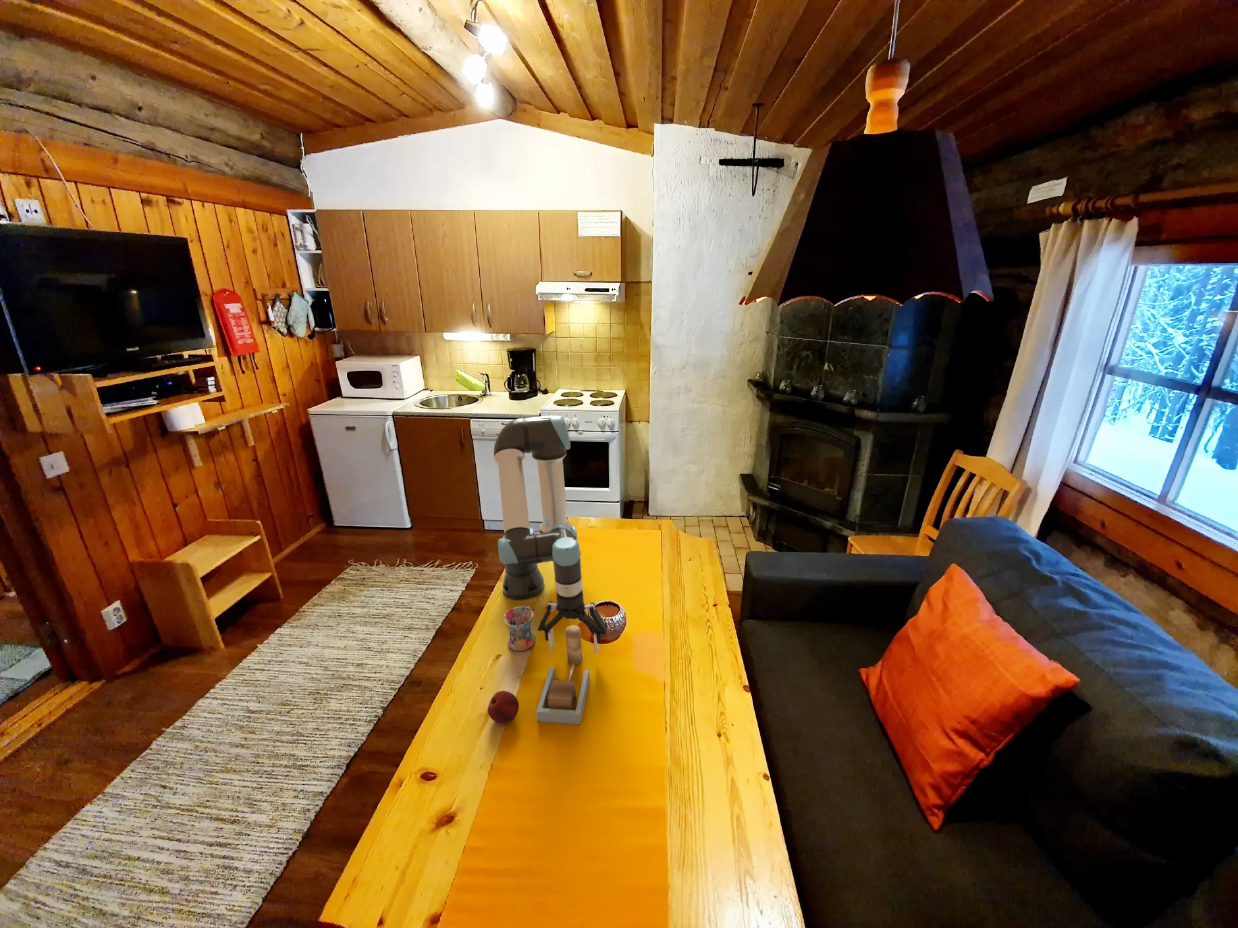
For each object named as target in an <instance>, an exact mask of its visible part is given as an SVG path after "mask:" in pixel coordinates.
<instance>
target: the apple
mask: <svg viewBox="0 0 1238 928" xmlns="http://www.w3.org/2000/svg"><path fill="white" fill-rule="evenodd" d="M519 708H520V703H519V699H518V698H517V696H516V695H514V694H513V693H512V692H510V691H506V690H499V691H497V692H495V694H493V695H492V697H491V699H490V701H489V703H488V706H487V714H488V716H489V718H490V719H491V720H492V721H494V723H497V724H508V723H510V722H512V721H513V720H514V719H515V718H516V717H517V715H518V712H519Z"/></svg>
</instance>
